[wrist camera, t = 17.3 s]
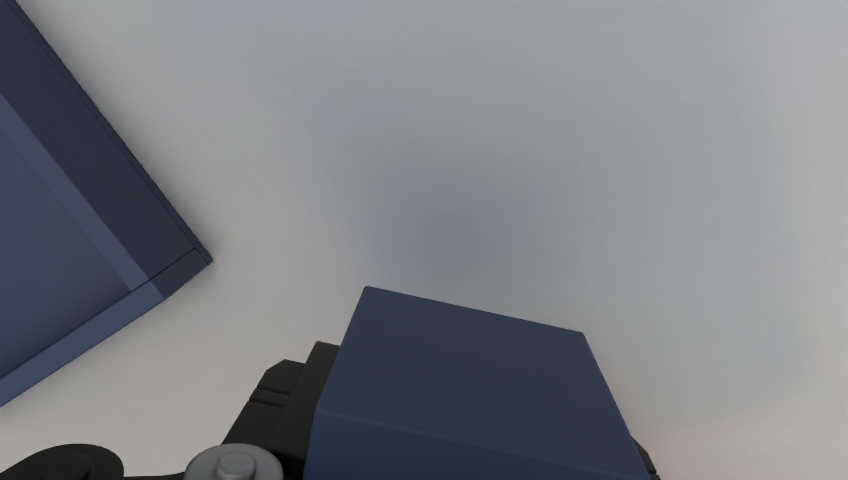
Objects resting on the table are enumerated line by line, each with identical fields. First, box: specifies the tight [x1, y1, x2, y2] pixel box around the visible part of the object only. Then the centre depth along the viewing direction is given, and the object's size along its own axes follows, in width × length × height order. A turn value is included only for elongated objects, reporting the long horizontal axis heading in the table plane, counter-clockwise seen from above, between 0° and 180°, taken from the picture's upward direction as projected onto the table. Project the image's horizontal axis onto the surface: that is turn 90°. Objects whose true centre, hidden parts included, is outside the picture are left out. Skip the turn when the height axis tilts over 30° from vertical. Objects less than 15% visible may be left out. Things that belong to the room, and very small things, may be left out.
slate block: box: [302, 286, 651, 480], centre depth 10 cm, size 4×4×4 cm
